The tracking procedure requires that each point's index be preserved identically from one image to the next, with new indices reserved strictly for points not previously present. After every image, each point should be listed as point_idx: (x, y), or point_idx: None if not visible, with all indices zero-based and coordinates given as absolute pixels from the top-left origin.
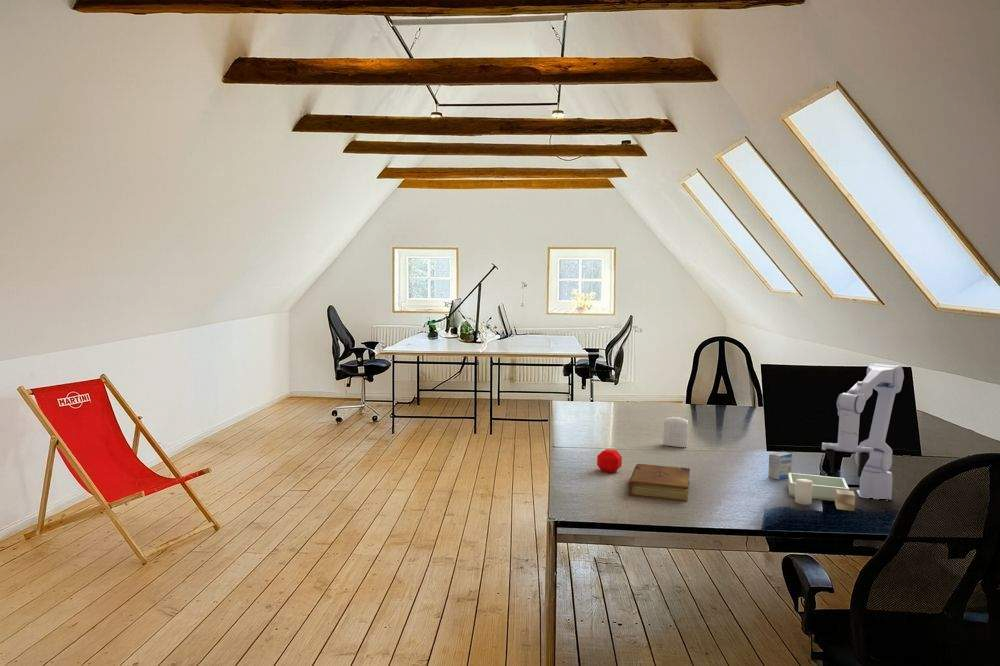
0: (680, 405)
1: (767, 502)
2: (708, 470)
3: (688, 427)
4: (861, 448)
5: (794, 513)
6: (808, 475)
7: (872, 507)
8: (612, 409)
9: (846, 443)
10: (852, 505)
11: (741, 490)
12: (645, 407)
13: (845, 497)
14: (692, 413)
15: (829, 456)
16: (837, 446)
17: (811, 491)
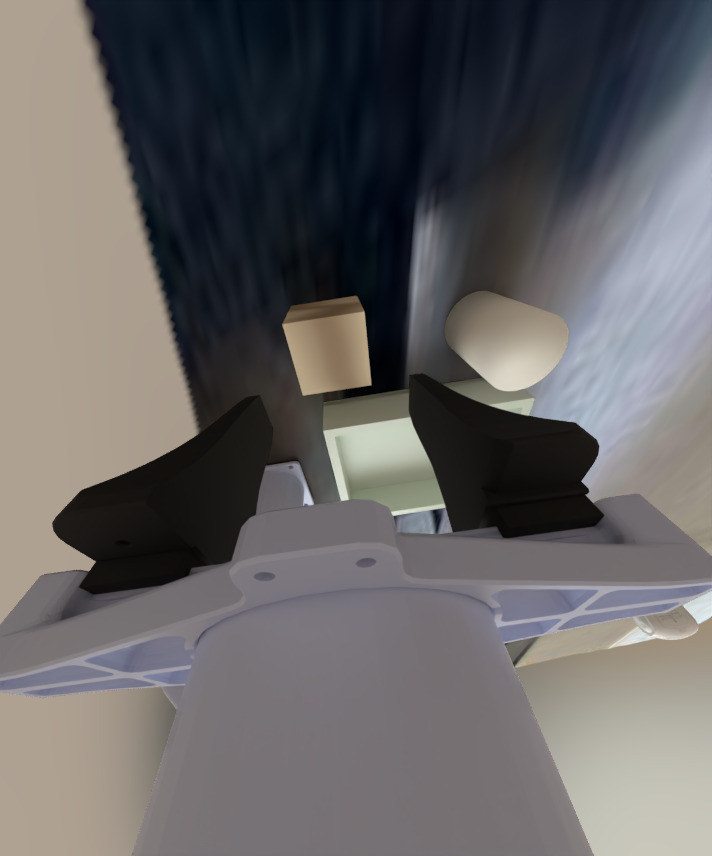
0: (526, 663)
1: (632, 235)
2: (643, 486)
3: (637, 618)
4: (111, 637)
5: (577, 51)
6: (443, 502)
7: (245, 389)
8: (625, 636)
9: (390, 713)
10: (297, 310)
11: (653, 359)
12: (574, 650)
13: (327, 313)
14: (522, 655)
15: (528, 420)
16: (525, 571)
17: (473, 326)
